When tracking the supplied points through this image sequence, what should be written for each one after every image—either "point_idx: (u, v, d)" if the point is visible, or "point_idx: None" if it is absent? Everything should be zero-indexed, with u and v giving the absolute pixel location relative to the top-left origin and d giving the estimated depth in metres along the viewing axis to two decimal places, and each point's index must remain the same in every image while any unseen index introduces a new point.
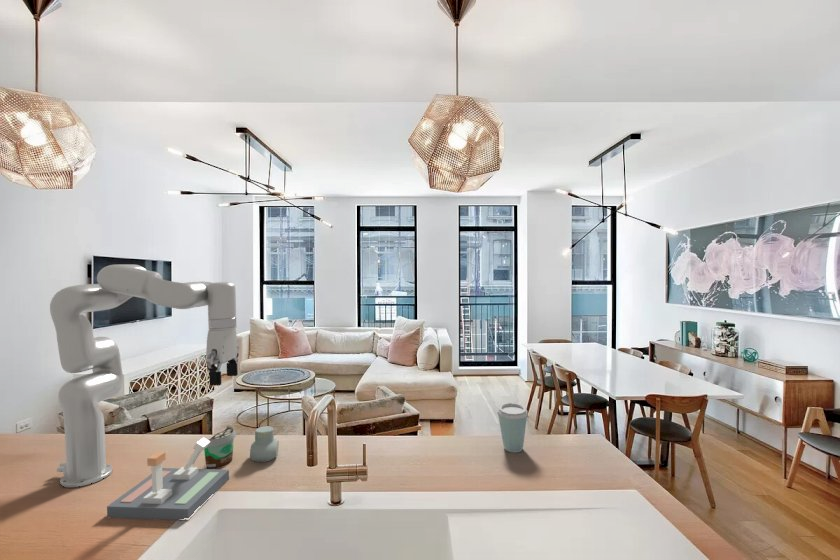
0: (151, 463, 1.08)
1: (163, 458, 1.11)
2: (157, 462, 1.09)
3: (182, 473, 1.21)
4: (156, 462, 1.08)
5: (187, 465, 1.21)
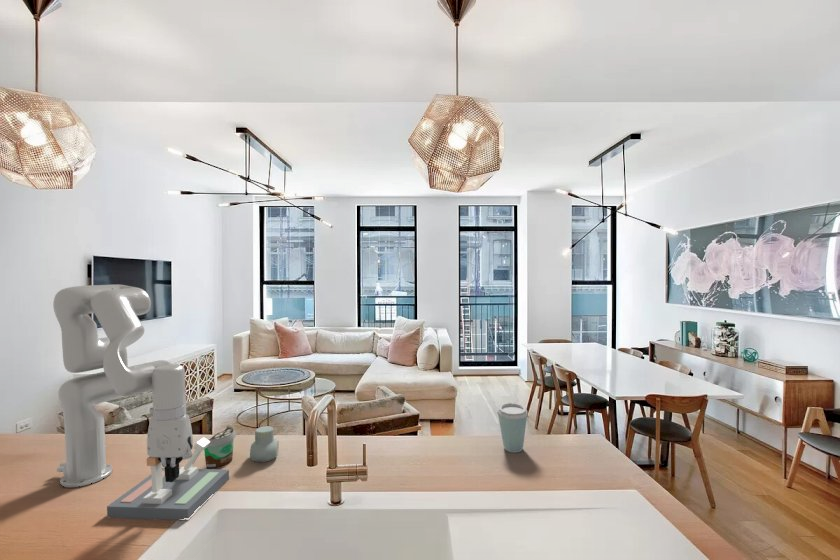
0: (151, 463, 1.08)
1: None
2: (156, 462, 1.09)
3: (182, 473, 1.21)
4: (156, 462, 1.08)
5: (187, 465, 1.21)
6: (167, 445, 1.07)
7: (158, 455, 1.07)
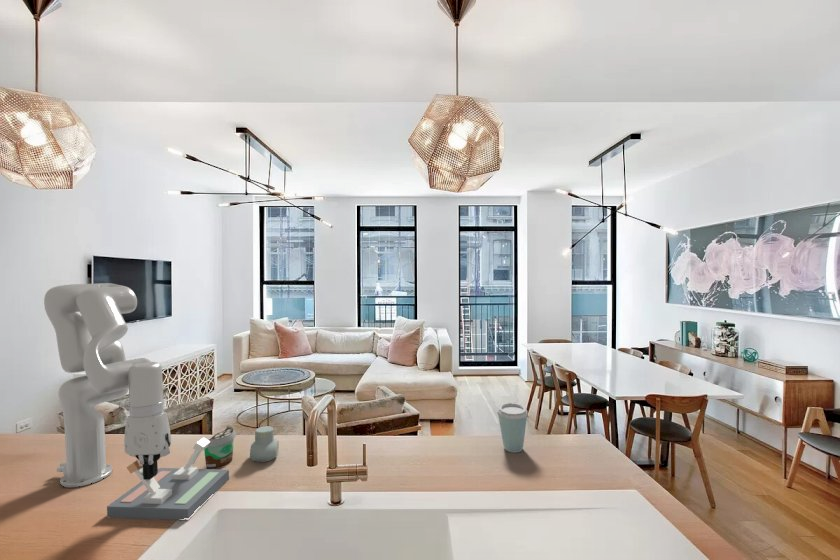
0: (132, 469, 1.09)
1: None
2: (137, 465, 1.09)
3: (182, 473, 1.21)
4: (136, 466, 1.09)
5: (187, 465, 1.21)
6: (144, 442, 1.07)
7: (135, 452, 1.07)
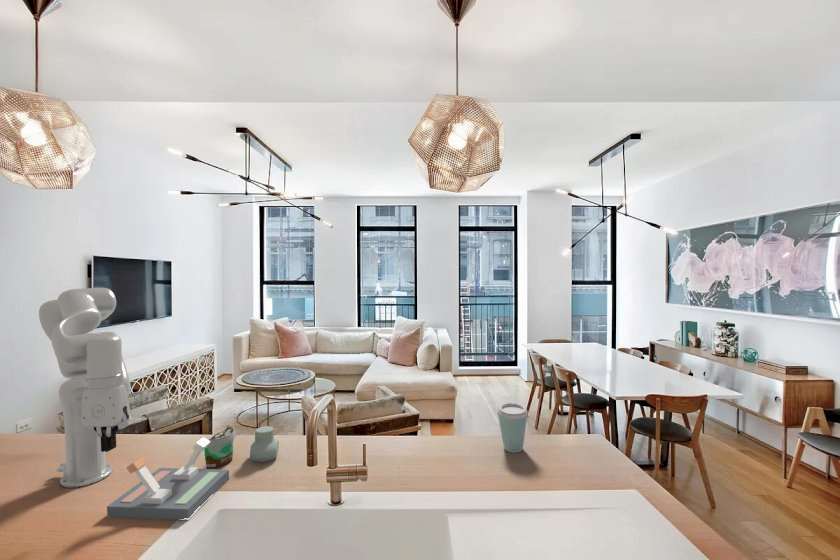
0: (132, 469, 1.09)
1: (143, 461, 1.11)
2: (137, 465, 1.09)
3: (182, 473, 1.21)
4: (136, 466, 1.09)
5: (187, 465, 1.21)
6: (101, 414, 1.07)
7: (93, 424, 1.07)
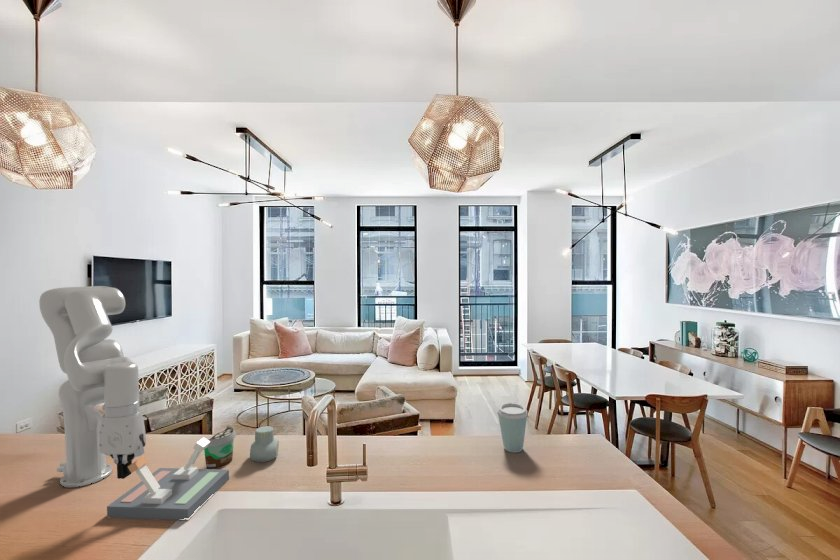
0: (133, 469, 1.08)
1: (144, 461, 1.11)
2: (138, 465, 1.09)
3: (182, 473, 1.21)
4: (137, 465, 1.09)
5: (187, 465, 1.21)
6: (118, 442, 1.07)
7: (109, 452, 1.08)
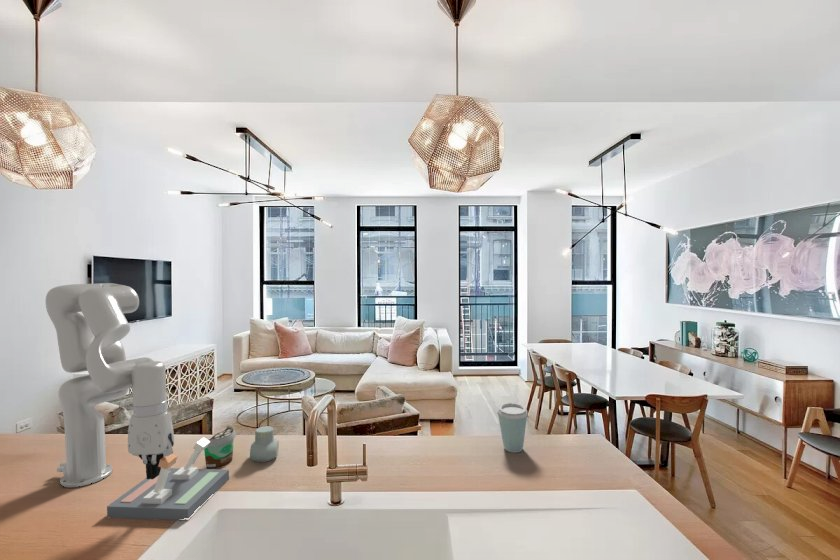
0: (162, 466, 1.08)
1: (174, 462, 1.11)
2: (168, 466, 1.08)
3: (182, 473, 1.21)
4: (168, 466, 1.08)
5: (187, 465, 1.21)
6: (147, 442, 1.06)
7: (138, 452, 1.07)
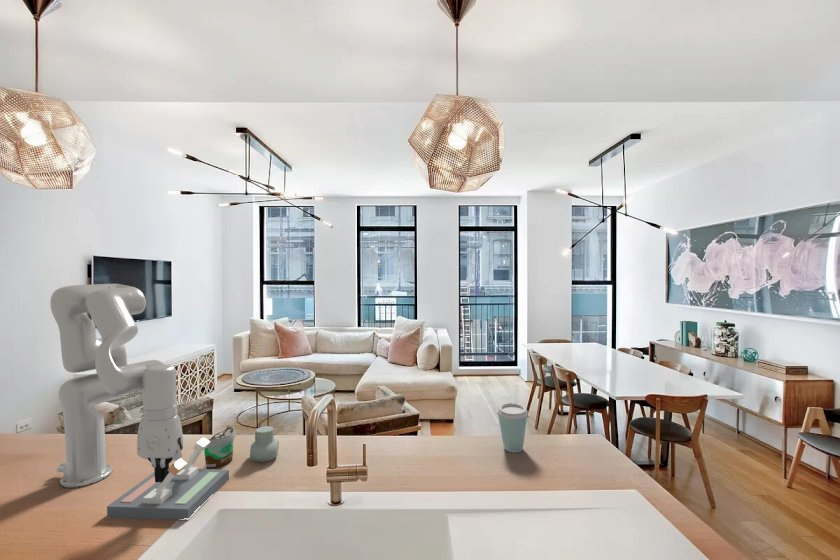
0: (172, 471, 1.08)
1: (182, 468, 1.11)
2: (177, 472, 1.08)
3: (182, 473, 1.21)
4: (176, 473, 1.08)
5: (187, 465, 1.21)
6: (157, 446, 1.06)
7: (148, 455, 1.07)
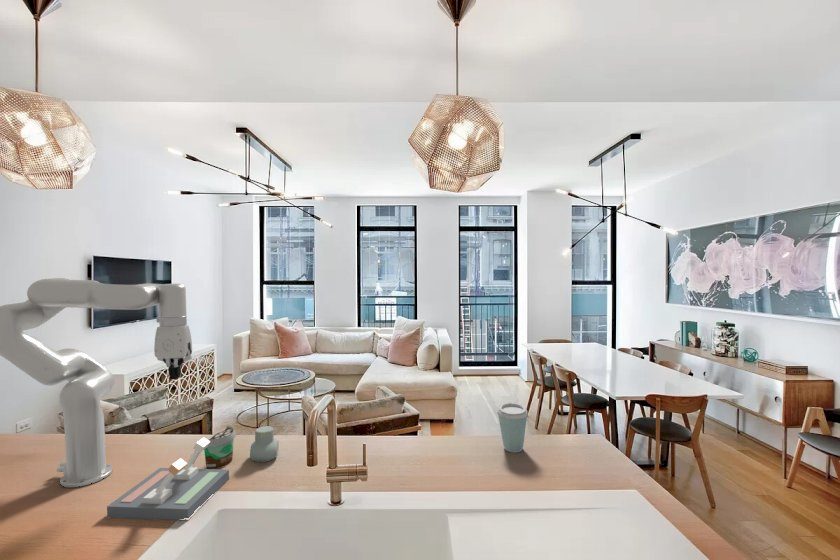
0: (172, 471, 1.08)
1: (182, 468, 1.11)
2: (177, 472, 1.08)
3: (182, 473, 1.21)
4: (176, 473, 1.08)
5: (187, 465, 1.21)
6: (171, 348, 1.29)
7: (163, 356, 1.30)
